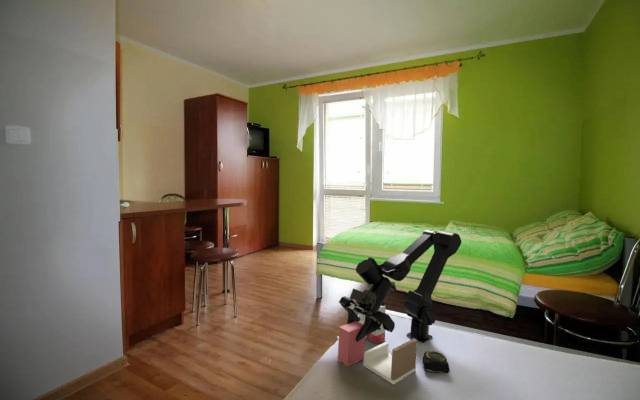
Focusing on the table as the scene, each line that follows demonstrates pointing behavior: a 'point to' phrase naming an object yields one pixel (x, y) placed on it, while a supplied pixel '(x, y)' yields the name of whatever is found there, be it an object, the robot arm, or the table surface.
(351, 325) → the book
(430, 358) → the tape measure
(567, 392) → the table surface
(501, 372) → the table surface
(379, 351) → the book rack
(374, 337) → the ink box
